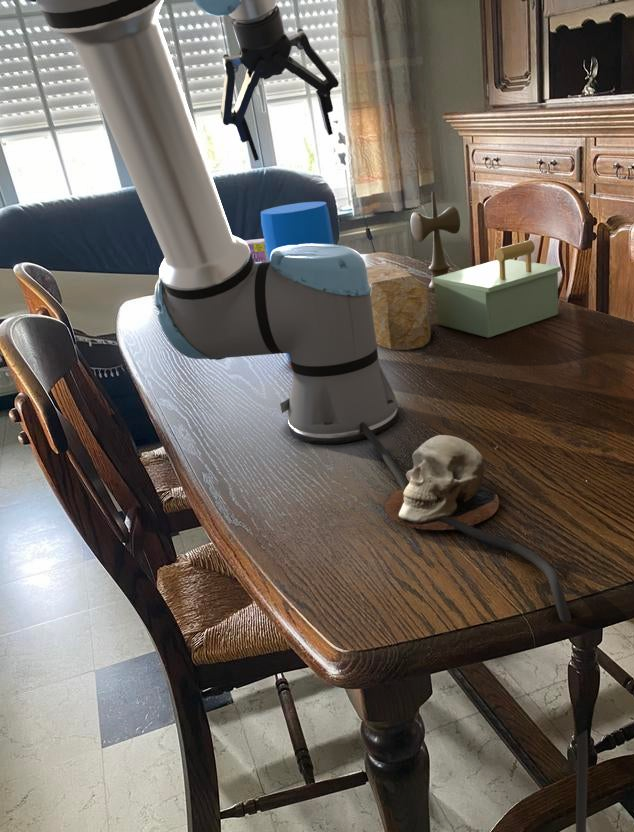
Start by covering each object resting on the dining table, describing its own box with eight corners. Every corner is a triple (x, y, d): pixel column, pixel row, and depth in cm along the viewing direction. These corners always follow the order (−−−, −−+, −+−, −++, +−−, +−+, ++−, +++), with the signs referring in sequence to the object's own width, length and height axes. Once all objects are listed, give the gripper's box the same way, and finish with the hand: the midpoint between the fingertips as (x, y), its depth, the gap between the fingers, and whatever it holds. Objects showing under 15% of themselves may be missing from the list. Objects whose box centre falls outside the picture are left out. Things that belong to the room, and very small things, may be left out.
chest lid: (561, 271, 132) (560, 235, 129) (488, 292, 125) (486, 255, 122) (502, 262, 143) (501, 229, 140) (433, 282, 136) (430, 247, 133)
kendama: (415, 291, 165) (405, 194, 155) (454, 282, 168) (447, 186, 158) (427, 295, 160) (417, 196, 150) (466, 286, 163) (460, 188, 153)
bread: (445, 341, 130) (441, 283, 125) (385, 354, 128) (378, 295, 123) (387, 300, 161) (382, 252, 156) (338, 310, 159) (331, 261, 154)
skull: (443, 544, 71) (387, 453, 72) (402, 572, 80) (353, 491, 81) (530, 493, 76) (477, 410, 78) (483, 525, 85) (436, 450, 87)
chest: (558, 314, 136) (557, 270, 132) (488, 338, 129) (485, 292, 125) (504, 303, 147) (502, 262, 143) (437, 324, 140) (433, 282, 136)
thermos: (293, 377, 123) (263, 217, 111) (284, 359, 132) (255, 209, 120) (357, 364, 125) (334, 205, 113) (343, 347, 134) (320, 199, 122)
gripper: (325, -25, 115) (353, 110, 133) (172, 28, 115) (221, 156, 132) (338, -6, 111) (365, 130, 129) (179, 48, 111) (228, 178, 128)
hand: (292, 143), depth 131 cm, fingers open, 13 cm apart
